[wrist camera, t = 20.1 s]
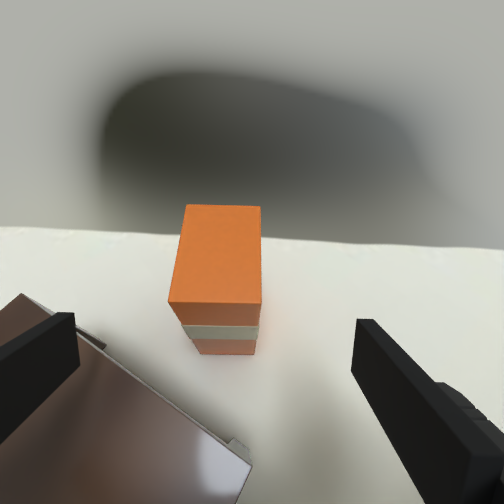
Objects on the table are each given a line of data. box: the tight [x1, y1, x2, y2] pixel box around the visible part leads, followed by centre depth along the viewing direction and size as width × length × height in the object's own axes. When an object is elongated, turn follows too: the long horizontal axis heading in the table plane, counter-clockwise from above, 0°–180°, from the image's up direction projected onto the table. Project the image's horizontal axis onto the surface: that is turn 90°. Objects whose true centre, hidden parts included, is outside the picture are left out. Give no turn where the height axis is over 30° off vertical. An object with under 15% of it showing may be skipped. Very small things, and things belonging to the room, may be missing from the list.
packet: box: [168, 204, 262, 355], centre depth 21 cm, size 5×7×12 cm
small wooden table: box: [0, 293, 252, 504], centre depth 15 cm, size 17×14×10 cm
